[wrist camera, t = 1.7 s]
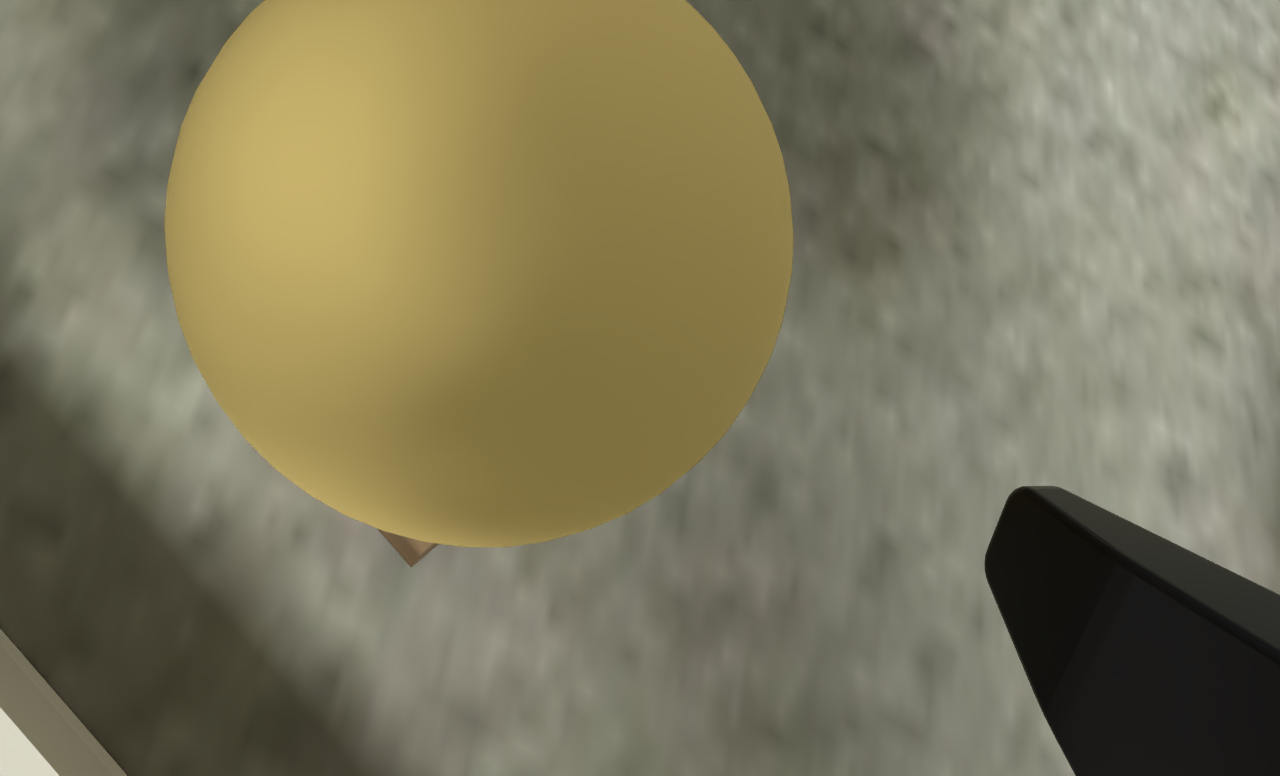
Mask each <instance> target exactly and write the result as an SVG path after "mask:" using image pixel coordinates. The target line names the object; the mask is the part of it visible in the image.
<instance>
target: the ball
mask: <svg viewBox="0 0 1280 776" xmlns="http://www.w3.org/2000/svg"><path fill="white" fill-rule="evenodd" d="M164 225H165V240H166V255H167V267H168V274H169V280H170V285H171V289H172V294H173V298H174V303H175V307H176V312H177V316H178V321H179V323H180V326H181V328H182V331H183V334H184V336H185V339H186V342H187V344H188V347H189V349H190V352H191V355H192V357H193V360H194V361H195V363H196V365H197V367H198V369H199V370H200V372H201V374H202V376H203V378H204V379H205V381H206V383H207V385H208V387H209V388H210V390H211V392H212V394H213V396H214V397H215V399H216V400H217V402H218V403H219V405H220V406H221V408H222V409H223V410H224V412H225V413H226V414H227V416H228V417H229V418H230V420H231V421H232V422H233V424H234V425H235V426H236V427H237V429H238V430H239V431H240V433H241V434H242V435H243V437H244V438H245V439H246V440H247V441H248V442H249V443H250V444H251V445H252V446H253V447H254V448H255V449H256V450H257V451H258V452H259V453H260V454H261V455H262V456H263V457H264V458H265V459H266V460H267V461H268V462H269V463H270V464H271V465H272V466H273V467H274V468H275V469H276V470H277V471H279V472H280V473H281V474H283V475H284V476H285V477H287V478H288V479H289V480H290V481H292V482H293V483H294V484H296V485H297V486H298V487H300V488H301V489H302V490H304V491H305V492H306V493H308V494H309V495H311V496H312V497H314V498H316V499H318V500H319V501H321V502H323V503H325V504H326V505H328V506H330V507H332V508H333V509H335V510H337V511H339V512H340V513H342V514H344V515H346V516H348V517H351V518H353V519H356V520H358V521H361V522H363V523H365V524H368V525H370V526H373V527H375V528H378V529H380V530H382V531H385V532H389V533H393V534H397V535H401V536H404V537H408V538H412V539H416V540H419V541H423V542H430V543H437V544H445V545H453V546H460V547H510V546H517V545H525V544H532V543H540V542H546V541H549V540H553V539H557V538H560V537H564V536H568V535H571V534H575V533H579V532H582V531H585V530H589V529H592V528H594V527H597V526H599V525H601V524H604V523H606V522H608V521H611V520H613V519H615V518H618V517H620V516H622V515H625V514H627V513H629V512H631V511H632V510H634V509H636V508H637V507H639V506H641V505H642V504H644V503H646V502H647V501H649V500H651V499H652V498H654V497H656V496H657V495H659V494H661V493H662V492H663V491H664V490H666V489H667V488H668V487H669V486H670V485H672V484H673V483H674V482H675V481H677V480H678V479H679V478H680V477H682V476H683V475H684V474H685V473H687V472H688V471H689V470H690V469H691V468H692V467H694V466H695V465H696V464H697V463H698V462H699V461H700V460H701V459H702V458H703V457H704V456H705V455H706V454H707V453H708V452H709V451H710V450H711V449H712V448H713V446H714V445H715V444H716V443H717V442H718V441H719V440H720V439H721V438H722V437H723V436H724V435H725V434H726V432H727V431H728V429H729V428H730V426H731V425H732V424H733V422H734V421H735V419H736V418H737V416H738V415H739V413H740V412H741V411H742V409H743V408H744V406H745V405H746V403H747V402H748V400H749V398H750V396H751V395H752V393H753V391H754V389H755V387H756V385H757V383H758V381H759V379H760V377H761V375H762V373H763V371H764V369H765V367H766V365H767V363H768V361H769V359H770V357H771V355H772V352H773V349H774V346H775V343H776V340H777V337H778V334H779V331H780V328H781V325H782V321H783V316H784V312H785V307H786V302H787V296H788V291H789V286H790V280H791V275H792V262H793V242H794V236H793V224H792V212H791V200H790V190H789V184H788V179H787V175H786V170H785V165H784V160H783V156H782V153H781V150H780V147H779V144H778V141H777V138H776V135H775V132H774V129H773V126H772V123H771V121H770V119H769V117H768V115H767V113H766V111H765V109H764V107H763V105H762V103H761V100H760V98H759V96H758V94H757V92H756V90H755V88H754V86H753V84H752V82H751V80H750V79H749V77H748V75H747V74H746V72H745V71H744V69H743V67H742V66H741V64H740V63H739V61H738V59H737V58H736V56H735V55H734V53H733V52H732V51H731V49H730V48H729V47H728V46H727V44H726V43H725V42H724V41H723V39H722V38H721V37H720V36H719V34H718V33H717V32H716V31H715V29H714V28H713V27H712V26H711V25H710V24H709V23H708V22H707V21H706V20H705V19H704V18H703V17H702V16H701V15H700V14H699V13H698V12H697V11H696V10H695V9H694V8H693V7H692V6H691V5H690V4H689V3H688V2H687V1H686V0H264V1H263V2H262V3H261V4H260V5H259V6H258V7H256V8H255V9H254V10H253V11H252V12H251V13H250V14H249V15H248V16H247V17H246V19H245V20H244V21H243V22H242V23H241V25H240V26H239V27H238V28H237V29H236V30H235V32H234V33H233V34H232V35H231V36H230V38H229V39H228V40H227V41H226V43H225V44H224V46H223V47H222V49H221V51H220V52H219V54H218V55H217V57H216V59H215V60H214V62H213V64H212V65H211V67H210V69H209V70H208V72H207V73H206V75H205V77H204V78H203V80H202V82H201V83H200V85H199V87H198V88H197V90H196V92H195V94H194V97H193V99H192V101H191V104H190V106H189V109H188V111H187V113H186V116H185V118H184V121H183V123H182V125H181V129H180V133H179V137H178V141H177V145H176V149H175V153H174V158H173V162H172V166H171V170H170V175H169V180H168V186H167V198H166V209H165V221H164Z"/></svg>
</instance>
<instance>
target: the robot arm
mask: <svg viewBox="0 0 1280 776" xmlns="http://www.w3.org/2000/svg"><path fill="white" fill-rule="evenodd" d="M985 573H986V578H987V581H988V584H989V586H990V588H991V591H992V593H993V596H994V598H995V600H996V603H997V605H998V608H999V610H1000V612H1001V615H1002V617H1003V620H1004V622H1005V624H1006V627H1007V629H1008V632H1009V634H1010V636H1011V639H1012V641H1013V644H1014V646H1015V648H1016V651H1017V653H1018V656H1019V658H1020V660H1021V663H1022V665H1023V668H1024V670H1025V672H1026V675H1027V677H1028V680H1029V682H1030V684H1031V687H1032V689H1033V692H1034V694H1035V696H1036V698H1037V701H1038V703H1039V705H1040V707H1041V710H1042V712H1043V714H1044V716H1045V718H1046V720H1047V722H1048V724H1049V726H1050V728H1051V730H1052V732H1053V734H1054V736H1055V738H1056V740H1057V742H1058V744H1059V745H1060V747H1061V749H1062V751H1063V753H1064V755H1065V757H1066V758H1067V760H1068V762H1069V764H1070V766H1071V768H1072V770H1073V772H1074V773H1075V775H1076V776H1280V595H1279V594H1277V593H1275V592H1272V591H1270V590H1268V589H1266V588H1264V587H1262V586H1260V585H1258V584H1256V583H1254V582H1252V581H1250V580H1248V579H1246V578H1244V577H1242V576H1240V575H1238V574H1236V573H1234V572H1232V571H1230V570H1228V569H1226V568H1223V567H1221V566H1219V565H1217V564H1215V563H1213V562H1211V561H1209V560H1207V559H1205V558H1203V557H1201V556H1199V555H1197V554H1195V553H1193V552H1191V551H1189V550H1187V549H1185V548H1183V547H1181V546H1179V545H1177V544H1174V543H1172V542H1170V541H1168V540H1166V539H1164V538H1162V537H1160V536H1158V535H1156V534H1154V533H1152V532H1150V531H1148V530H1146V529H1144V528H1142V527H1140V526H1138V525H1136V524H1134V523H1132V522H1130V521H1128V520H1125V519H1123V518H1121V517H1119V516H1117V515H1115V514H1113V513H1111V512H1109V511H1107V510H1105V509H1103V508H1101V507H1099V506H1097V505H1095V504H1093V503H1091V502H1089V501H1087V500H1085V499H1083V498H1081V497H1079V496H1076V495H1074V494H1072V493H1070V492H1068V491H1066V490H1064V489H1062V488H1059V487H1055V486H1022V487H1019V488H1017V489H1015V490H1014V491H1013V492H1012V493H1011V494H1010V495H1009V497H1008V499H1007V501H1006V503H1005V506H1004V508H1003V511H1002V513H1001V516H1000V518H999V521H998V523H997V526H996V528H995V531H994V533H993V536H992V539H991V541H990V544H989V546H988V549H987V552H986V555H985Z"/></svg>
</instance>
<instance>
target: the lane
mask: <svg viewBox="0 0 1280 776" xmlns="http://www.w3.org/2000/svg"><path fill="white" fill-rule="evenodd" d="M0 776H127V775H126V773H125V772H124V771H123V770H122V769H121V768H120V766H119V765H118V764H117V763H116V762H115V761H114V760H113V758H112V757H111V756H110V755H109V754H108V753H107V751H106V750H105V749H104V748H103V747H102V746H101V744H100V743H99V742H98V741H97V740H96V739H95V738H94V736H93V735H92V734H91V733H90V732H89V731H88V729H87V728H86V727H85V726H84V725H83V724H82V722H81V721H80V720H79V719H78V718H77V717H76V716H75V714H74V713H73V712H72V711H71V710H70V709H69V707H68V706H67V705H66V704H65V703H64V702H63V701H62V699H61V698H60V697H59V696H58V695H57V694H56V692H55V691H54V690H53V689H52V688H51V687H50V685H49V684H48V683H47V682H46V681H45V680H44V679H43V677H42V676H41V675H40V674H39V673H38V672H37V670H36V669H35V668H34V667H33V666H32V665H31V664H30V662H29V661H28V660H27V659H26V658H25V657H24V655H23V654H22V653H21V652H20V651H19V650H18V648H17V647H16V646H15V645H14V644H13V643H12V642H11V640H10V639H9V638H8V637H7V636H6V635H5V633H4V632H3V631H2V630H1V629H0Z"/></svg>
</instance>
